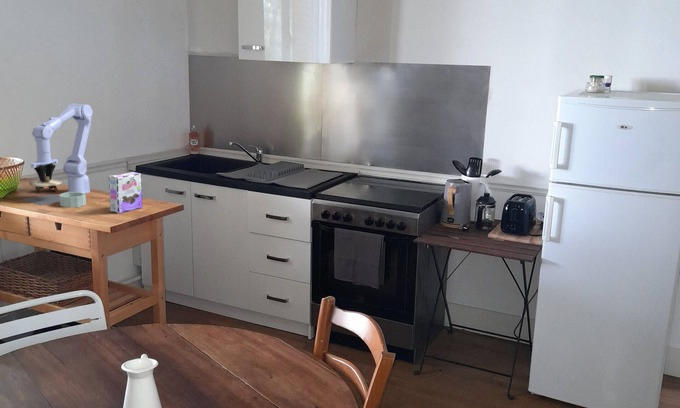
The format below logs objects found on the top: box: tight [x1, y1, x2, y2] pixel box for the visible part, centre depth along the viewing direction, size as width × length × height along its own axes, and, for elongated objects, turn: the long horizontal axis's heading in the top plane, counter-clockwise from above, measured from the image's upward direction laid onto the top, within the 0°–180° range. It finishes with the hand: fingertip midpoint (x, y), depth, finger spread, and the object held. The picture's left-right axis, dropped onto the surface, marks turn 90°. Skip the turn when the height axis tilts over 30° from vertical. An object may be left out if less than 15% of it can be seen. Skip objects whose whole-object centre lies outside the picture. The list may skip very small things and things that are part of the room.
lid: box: [28, 175, 63, 188], centre depth 296 cm, size 14×14×3 cm
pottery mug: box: [34, 177, 59, 193], centre depth 315 cm, size 12×10×8 cm
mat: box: [21, 193, 60, 206], centre depth 298 cm, size 16×16×1 cm
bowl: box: [58, 191, 87, 209], centre depth 291 cm, size 11×11×5 cm
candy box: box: [108, 171, 143, 214], centre depth 286 cm, size 14×6×16 cm, turn 148°
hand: (45, 180), depth 296 cm, fingers closed on lid, 3 cm apart
